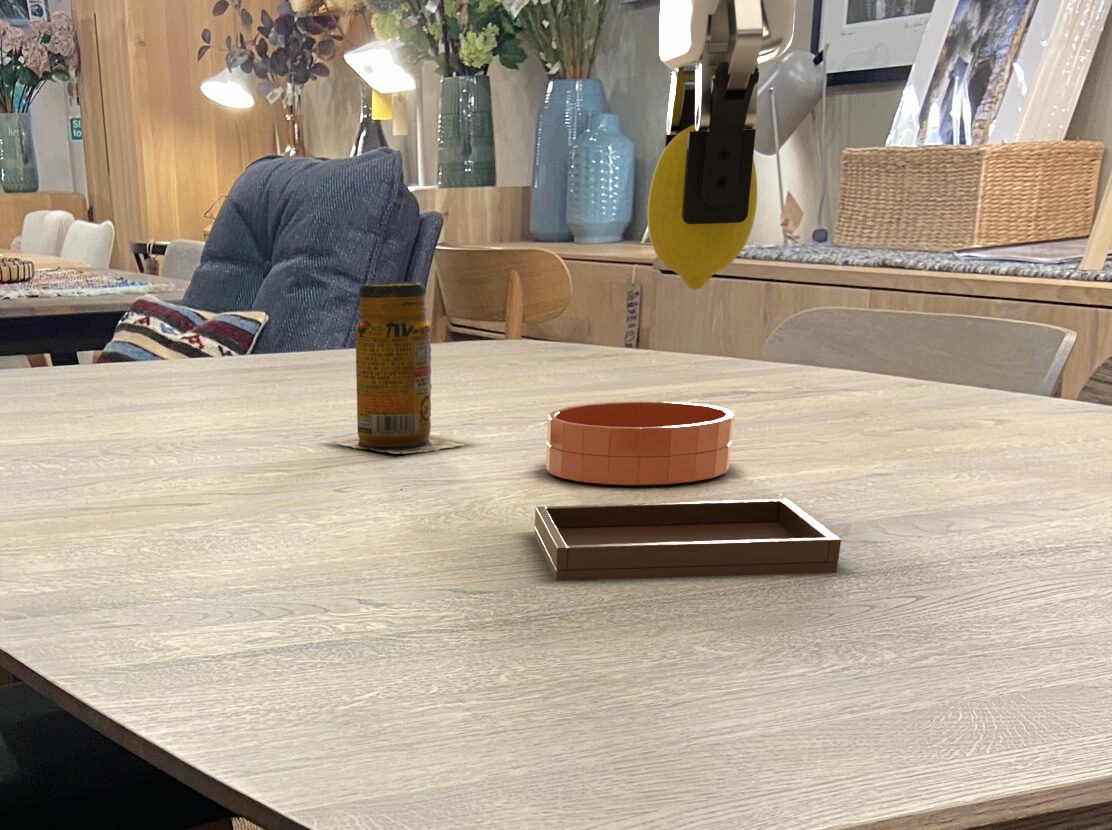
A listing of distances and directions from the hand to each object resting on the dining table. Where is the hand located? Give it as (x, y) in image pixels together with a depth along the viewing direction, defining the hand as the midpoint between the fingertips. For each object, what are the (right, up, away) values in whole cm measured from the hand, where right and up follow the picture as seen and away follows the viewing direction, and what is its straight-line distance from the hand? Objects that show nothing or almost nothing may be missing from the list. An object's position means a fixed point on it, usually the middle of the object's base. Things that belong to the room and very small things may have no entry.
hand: (701, 217), depth 75 cm
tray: (0, -15, +8) cm, 17 cm away
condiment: (-14, +5, +44) cm, 46 cm away
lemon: (0, -3, +2) cm, 4 cm away
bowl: (+2, -2, +30) cm, 30 cm away
